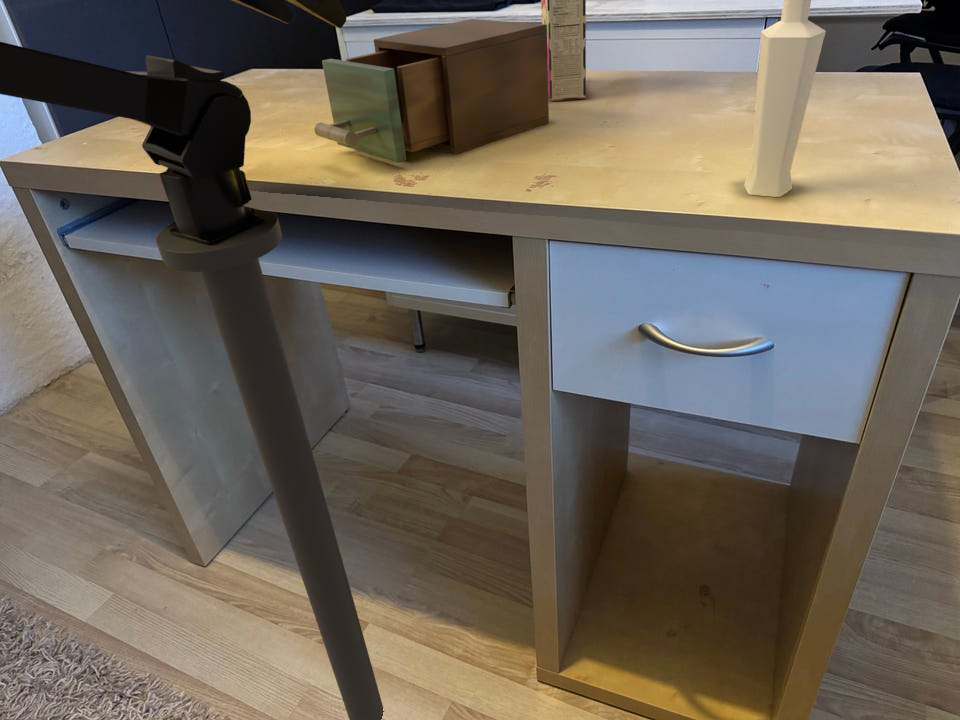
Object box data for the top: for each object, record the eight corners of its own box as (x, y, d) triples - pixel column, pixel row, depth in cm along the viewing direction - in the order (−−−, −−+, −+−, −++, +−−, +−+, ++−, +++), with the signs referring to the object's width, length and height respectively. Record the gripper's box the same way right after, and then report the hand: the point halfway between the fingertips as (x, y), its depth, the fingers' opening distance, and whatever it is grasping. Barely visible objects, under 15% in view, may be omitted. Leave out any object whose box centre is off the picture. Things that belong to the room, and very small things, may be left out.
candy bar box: (541, 84, 98) (538, -49, 89) (576, 81, 98) (576, -52, 89) (548, 102, 89) (545, -43, 80) (586, 99, 89) (588, -47, 80)
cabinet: (455, 154, 73) (445, 47, 68) (387, 136, 82) (373, 39, 76) (549, 122, 81) (547, 24, 75) (478, 108, 89) (471, 18, 83)
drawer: (365, 173, 68) (349, 79, 63) (307, 153, 75) (288, 67, 70) (494, 131, 77) (488, 45, 72) (430, 116, 84) (422, 38, 79)
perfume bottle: (752, 176, 61) (780, -13, 53) (801, 185, 59) (838, -13, 50) (727, 191, 59) (752, -5, 50) (778, 201, 56) (813, -4, 48)
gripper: (290, -236, 48) (421, -50, 60) (180, -194, 60) (308, -46, 72) (205, -106, 47) (355, 56, 59) (111, -89, 59) (252, 42, 71)
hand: (316, 21), depth 65 cm, fingers open, 9 cm apart
